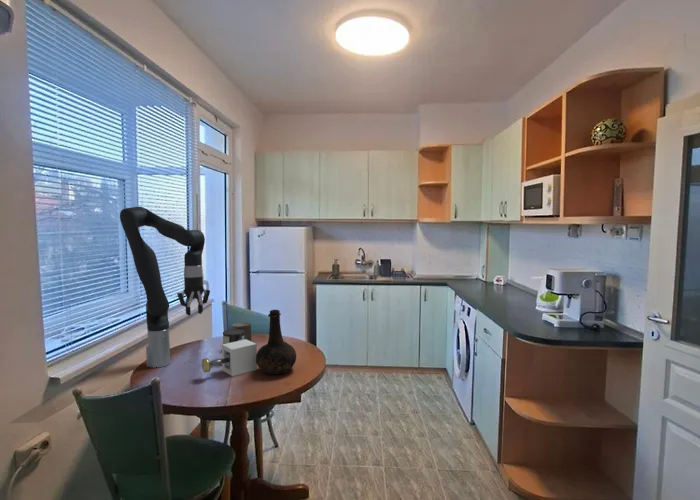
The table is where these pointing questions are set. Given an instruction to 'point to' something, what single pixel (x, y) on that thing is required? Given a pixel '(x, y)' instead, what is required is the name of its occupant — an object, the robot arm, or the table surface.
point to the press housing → (240, 357)
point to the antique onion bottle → (275, 349)
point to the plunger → (214, 363)
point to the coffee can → (233, 335)
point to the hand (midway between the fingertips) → (194, 314)
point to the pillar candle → (246, 327)
